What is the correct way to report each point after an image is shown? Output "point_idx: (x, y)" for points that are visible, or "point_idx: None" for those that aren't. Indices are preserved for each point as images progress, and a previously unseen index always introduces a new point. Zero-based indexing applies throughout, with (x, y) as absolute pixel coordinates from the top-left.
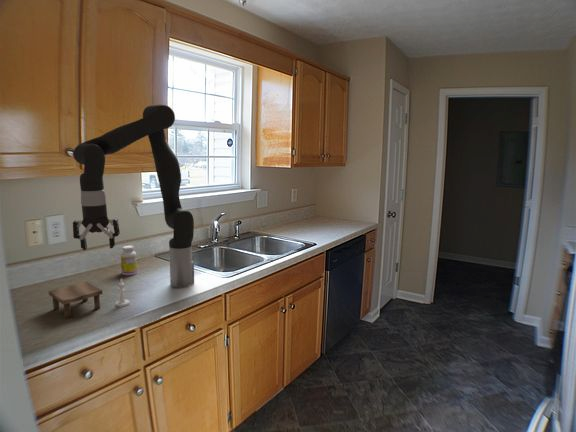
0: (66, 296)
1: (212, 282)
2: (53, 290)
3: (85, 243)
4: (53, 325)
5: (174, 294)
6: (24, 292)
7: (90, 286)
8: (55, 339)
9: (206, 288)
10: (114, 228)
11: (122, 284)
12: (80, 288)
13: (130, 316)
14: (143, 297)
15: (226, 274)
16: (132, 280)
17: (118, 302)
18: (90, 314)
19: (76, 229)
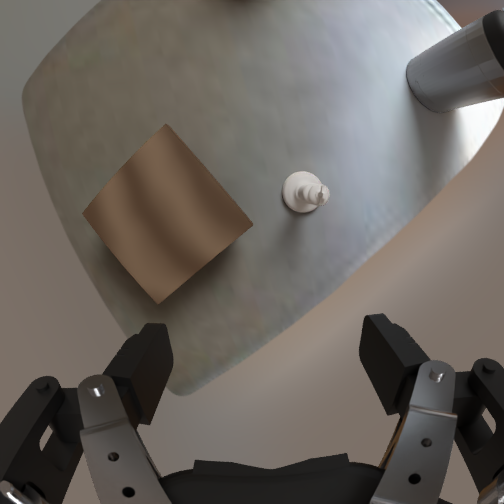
0: (150, 269)
1: (483, 103)
2: (92, 210)
3: (154, 379)
4: (160, 304)
5: (427, 151)
6: (34, 104)
7: (196, 179)
8: (196, 364)
9: (479, 137)
10: (475, 471)
11: (324, 203)
12: (167, 197)
13: (336, 280)
14: (354, 151)
15: None
16: (286, 13)
17: (294, 199)
18: (227, 254)
19: (61, 496)
